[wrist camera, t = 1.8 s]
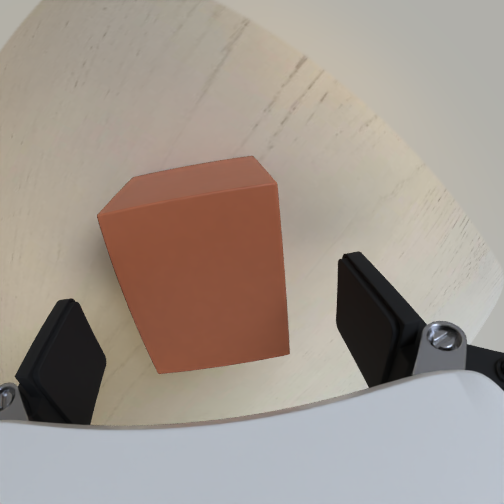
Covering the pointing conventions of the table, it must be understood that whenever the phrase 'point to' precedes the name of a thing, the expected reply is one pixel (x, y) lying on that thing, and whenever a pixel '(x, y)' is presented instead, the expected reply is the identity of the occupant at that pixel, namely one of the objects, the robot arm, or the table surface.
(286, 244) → the table surface
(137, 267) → the orange brown block
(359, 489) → the robot arm
